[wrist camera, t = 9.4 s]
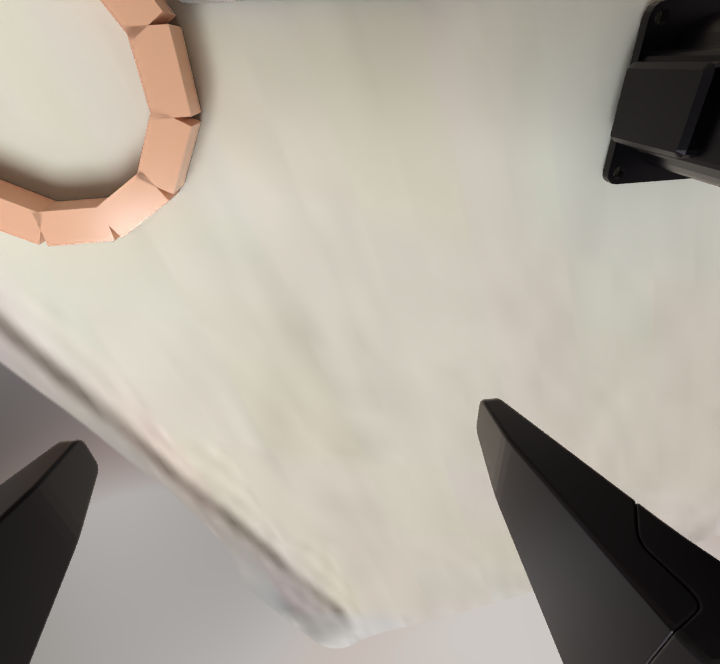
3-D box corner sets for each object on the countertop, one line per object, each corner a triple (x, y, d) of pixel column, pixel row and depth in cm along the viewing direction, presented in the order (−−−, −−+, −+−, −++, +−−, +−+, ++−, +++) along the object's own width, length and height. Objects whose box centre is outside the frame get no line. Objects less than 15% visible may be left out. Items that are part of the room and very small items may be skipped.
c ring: (140, -148, 12) (119, -172, 11) (226, 220, 19) (220, 232, 17) (-259, -130, 12) (-326, -153, 11) (-35, 241, 18) (-61, 254, 17)
